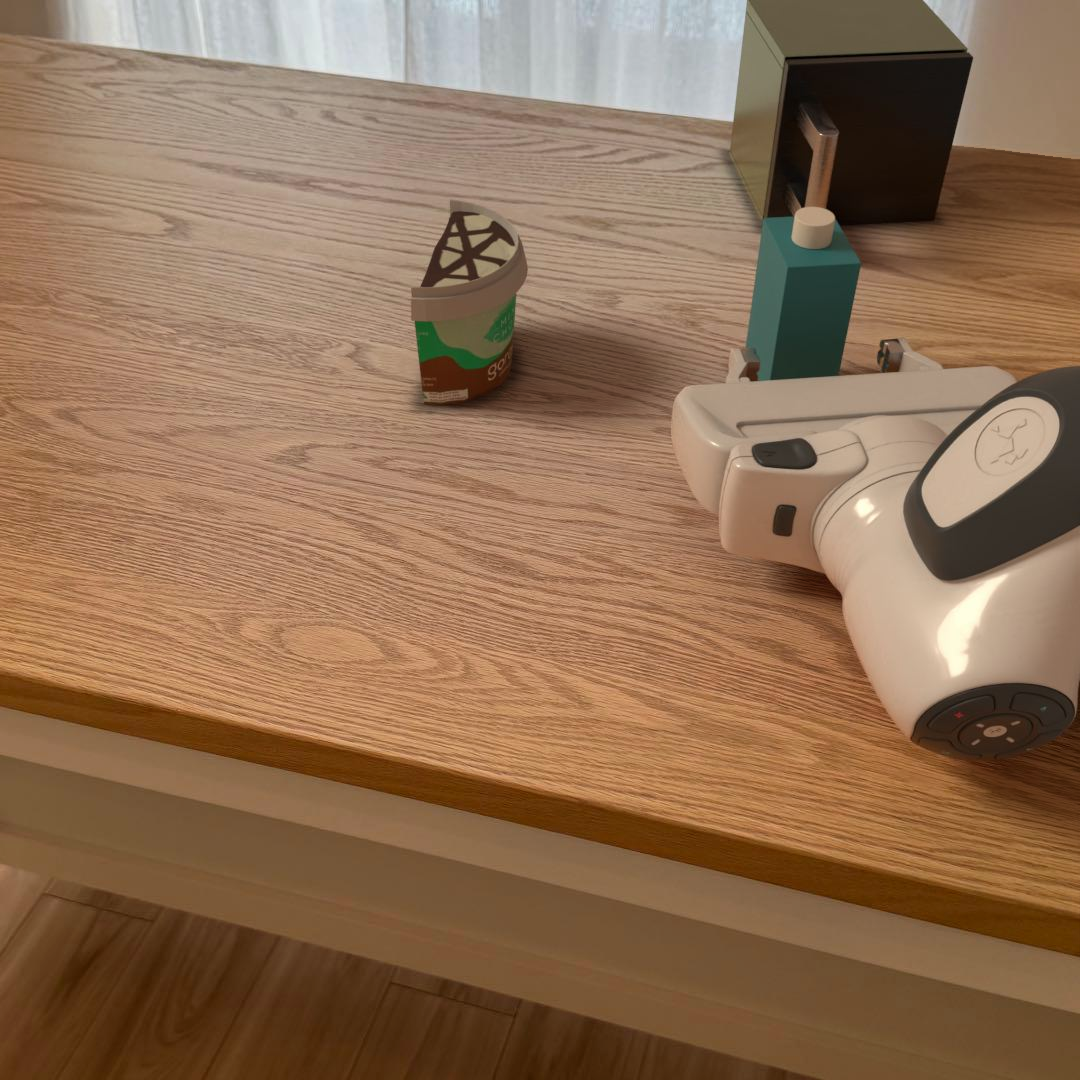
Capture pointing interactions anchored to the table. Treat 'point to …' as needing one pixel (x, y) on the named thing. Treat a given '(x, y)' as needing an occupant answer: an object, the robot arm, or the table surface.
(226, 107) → the table surface
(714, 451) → the robot arm
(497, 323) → the food container
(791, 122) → the black cabinet door
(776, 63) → the olive green small cabinet
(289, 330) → the table surface
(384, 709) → the table surface
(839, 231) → the detergent bottle
